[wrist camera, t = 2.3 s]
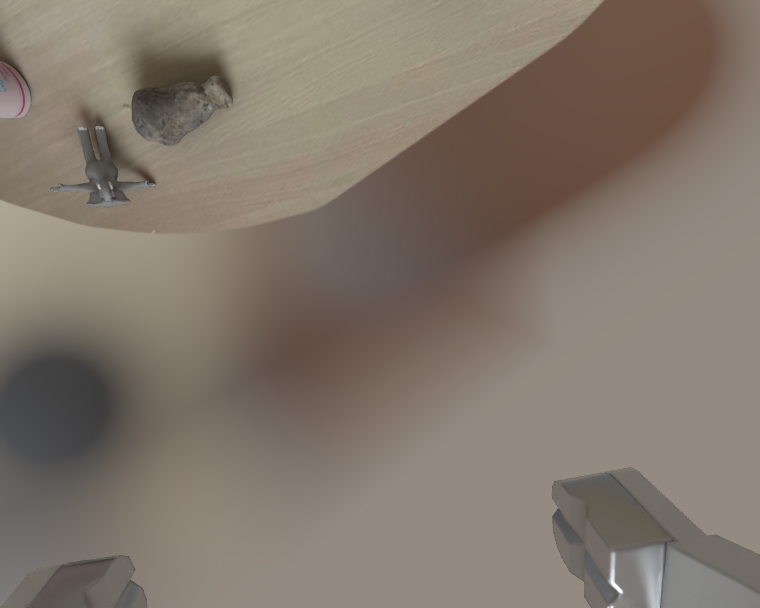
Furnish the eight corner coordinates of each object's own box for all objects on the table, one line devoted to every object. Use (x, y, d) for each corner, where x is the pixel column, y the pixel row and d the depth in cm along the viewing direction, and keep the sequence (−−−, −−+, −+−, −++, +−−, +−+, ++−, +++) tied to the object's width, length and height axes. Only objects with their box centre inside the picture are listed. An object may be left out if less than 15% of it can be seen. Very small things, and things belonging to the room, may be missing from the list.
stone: (237, 74, 42) (153, 27, 36) (241, 110, 39) (153, 66, 34) (200, 139, 47) (123, 107, 42) (202, 173, 45) (121, 144, 40)
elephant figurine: (141, 117, 44) (160, 197, 44) (143, 140, 49) (160, 211, 50) (27, 114, 39) (49, 204, 39) (42, 140, 44) (62, 218, 45)
